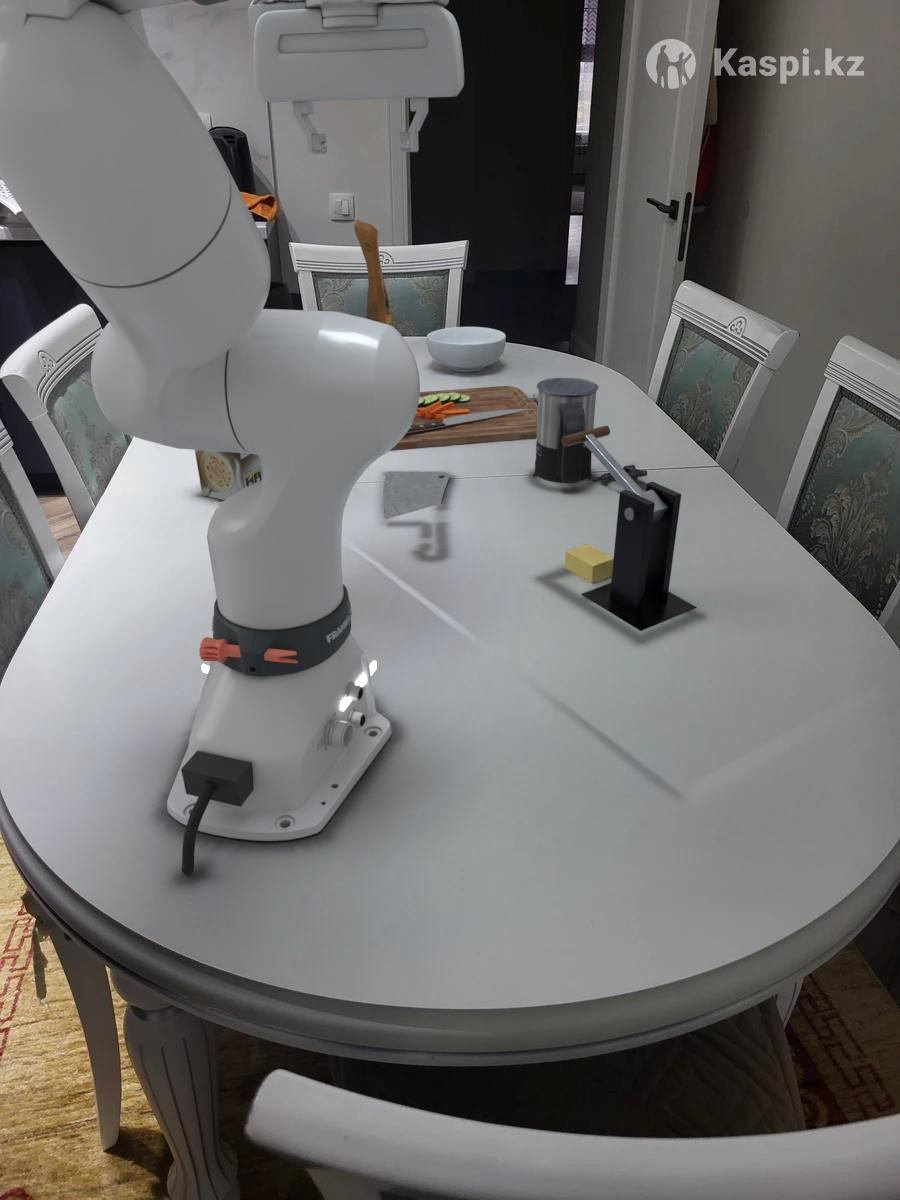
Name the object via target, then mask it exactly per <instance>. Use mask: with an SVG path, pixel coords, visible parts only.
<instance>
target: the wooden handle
mask: <svg viewBox="0 0 900 1200" xmlns="http://www.w3.org/2000/svg"><path fill="white" fill-rule="evenodd" d="M353 230H354V234H355V236H356V239H357V240H358V243H359V246H360V249H361V251H362V255H363V258H364V260H365V264H366V270H367V280H368V281H367V283H368V286H367V287H368V288H367V295H366V313H365V315H366V316H365V318H366V319H370V320H373V321H377V322H380V323H384V324H388V325H391V326H393V327H394V325H393V319H392V313H391V307H390V301H389V296H388V292H387V287H386V282H385V278H384V274H383V269H382V264H381V258H380V247H379V246H380V245H379V230H378V229H377V227H375V226H374V225H373V224H371V223H368V222H365V221H364V222H363V221H362V220H360V219H356V221H355V222H354V223H353Z"/></svg>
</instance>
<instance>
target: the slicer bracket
mask: <svg viewBox="0 0 900 1200" xmlns="http://www.w3.org/2000/svg"><path fill="white" fill-rule="evenodd" d="M649 490H653V491H654V492H655V493H656V494H657V495H658V496H659V497H660V498H661V500H662V501H663V502H664V503H665V504H666V505H667V506H668V508H667V509H666V511H665V513H664V514H663V516H662V518H661V519H660V521H659V522H656V523H653V514H654V506H655V503H654V502H652V501H650V500H648V499H645V498H643V497H641V496H639V495H637V494H635V493H632V492H630V491H628V490H624V489H623V490H621V491H619V497H618V507H617V517H616V529H615V537H614V538H615V539H614V550H613V558H614V559H613V569H612V577H611V582H610V583H606V584H604V585H601V586H599V587H596V588H594V589H591V590H588V591H586V592H585V591H584V592H583V593H580V595H581V596H582V597H584V598H585V599H588V600H589V601H591V602H592V603H594V604H596V605H597V606H598V607H600V608H602V609H604V610H605V611H607V612H609V613H610V614H612V615H614V616H615V617H617V618H618V619H620V620H622V621H623V622H624V623H626V624H628V625H630V626H631V627H633V628H635V629H636V630H638V631H640V632H642V631H644V630H645V631H646V630H647V629H649V628H652V627H655V626H657V625H659V624H662V623H664V622H666V621H669V620H672V619H673V618H676V617H678V616H681V615H684V614H685V613H686V614H687V613H688V612H690V611H693V610H695V609H697V608H698V607H697V606H696V605H694V604H692V603H690V602H688V600H687V601H686V600H685V599H683V598H681V597H679V596H678V595H676V594H674V593H672V592H670V584H671V582H670V581H671V577H672V576H671V575H672V568H673V562H674V561H673V560H674V552H675V546H676V545H675V544H676V540H677V539H676V538H677V530H678V523H679V516H680V507H681V500H682V493H680V492H677V491H675V490H672V489H670V488H668V487H666V486H664V485H662V484H659V483H656V482H655V481H649V482H646V484H645V491H644V492H646V491H649ZM652 523H653V524H652Z"/></svg>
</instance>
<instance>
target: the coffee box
mask: <svg viewBox="0 0 900 1200" xmlns="http://www.w3.org/2000/svg"><path fill="white" fill-rule="evenodd" d="M194 453H195V454H194V455H195V461H196V467H197V472H198V477H199V484H200V490H201V495H202V496H205V497H210V498H213V499H217V500H221V501H224V500H226V499H227V498H228V497H230V496H231V495H233V494H234V493H236V492H238V491H240V490H241V489H243V488H245V487H247V486H249V485H252V484H254V483H256V482H259V481H261V480H263V470H262V463H261V460H260V458H259V456H258V455H256V454H251V453H236V452H221V451H206V450H194Z"/></svg>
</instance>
